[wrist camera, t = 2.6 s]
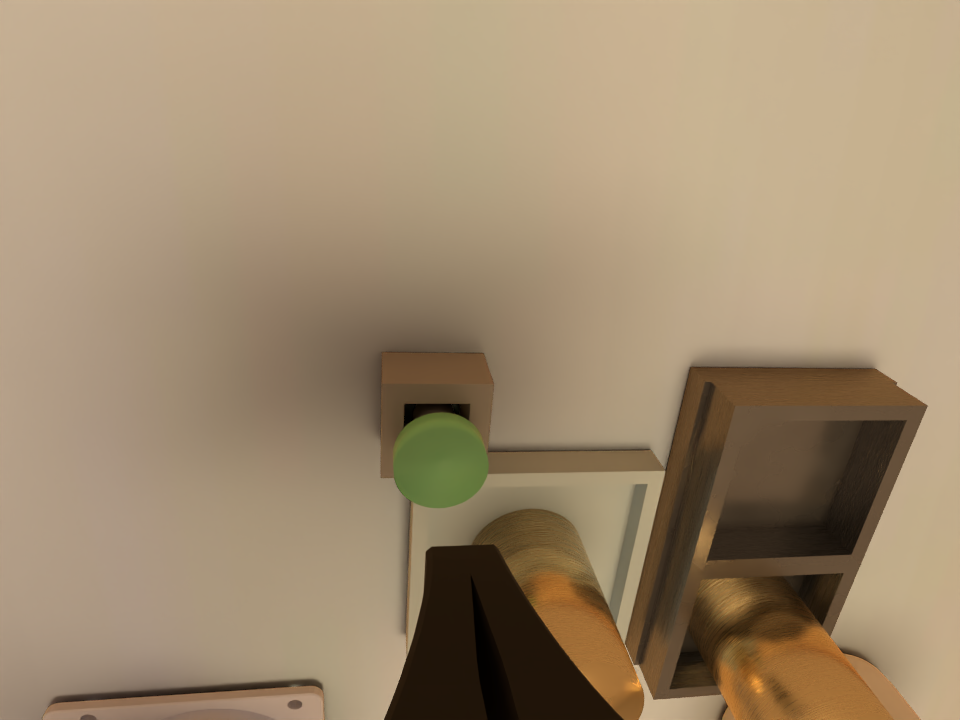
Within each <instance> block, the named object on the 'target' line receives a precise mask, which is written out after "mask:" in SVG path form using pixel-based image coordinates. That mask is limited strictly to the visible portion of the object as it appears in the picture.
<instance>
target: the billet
mask: <svg viewBox="0 0 960 720" xmlns="http://www.w3.org/2000/svg"><path fill="white" fill-rule="evenodd" d="M490 544H494V545H495V546H496V547H497V548H498V549H499V551H500V553H501V555H502V556H503V558H504V560H505V562H506V564H507V566H508V567H509V569H510V571H511V573H512V574H513V576H514V578H515V579H516V581H517V583H518V584H519V586H520V587H521V589H522V591H523V592H524V594H525V596H526V597H527V599H528V600H529V602H530V603H531V605H532V606H533V608H534V609H535V611H536V612H537V614H538V615H539V616H540V618H541V619H542V621H543V622H544V624H545V625H546V626H547V628H548V629H549V631H550V632H551V634H552V635H553V636H554V638H555V639H556V640H557V642H558V643H559V644H560V646H561V647H562V648H563V650H564V651H565V652H566V654H567V655H568V656H569V657H570V659H571V660H572V661H573V662H574V664H575V665H576V666H577V668H578V669H579V670H580V671H581V672H582V674H583V675H584V676H585V677H586V678H587V680H588V681H589V682H590V683H591V684H592V685H593V687H594V688H595V689H596V690H597V691H598V692H599V693H600V695H601V696H602V697H603V698H604V699H605V700H606V701H607V702H608V703H609V704H610V706H611V707H612V708H613V709H614V710H615V711H616V712H617V713H618V714H619V715H620V716H621V717H622V718H623V719H624V720H638V719H639V717H640V716H641V713H642V710H643V706H644V693H643V689H642V686H641V684H640V682H639V679H638V677H637V674H636V672H635V669H634V667H633V665H632V662H631V660H630V657H629V655H628V652H627V650H626V648H625V645H624V643H623V640H622V638H621V636H620V633H619V631H618V628H617V626H616V623H615V621H614V619H613V616H612V614H611V611H610V609H609V606H608V604H607V602H606V599H605V597H604V594H603V592H602V589H601V587H600V585H599V582H598V580H597V577H596V575H595V572H594V570H593V568H592V565H591V563H590V560H589V558H588V555H587V553H586V551H585V548H584V546H583V543H582V541H581V538H580V536H579V534H578V531H577V530H576V528H575V527H574V525H573V524H572V523H571V522H570V521H569V520H567V519H566V518H565V517H563V516H561V515H560V514H557V513H555V512H552V511H548V510H543V509H523V510H518V511H514V512H511V513H508V514H505V515H503V516H501V517H499V518H497V519H495V520H493V521H492V522H491V523H489V524H488V525H487V526H485V527H484V528H483V529H482V530H481V531H480V532H479V534H478V535H477V536H476V538H475V539H474V541H473V543H472V545H490Z"/></svg>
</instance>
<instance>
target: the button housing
mask: <svg viewBox="0 0 960 720" xmlns="http://www.w3.org/2000/svg"><path fill="white" fill-rule="evenodd" d="M493 390H494V382H493V380H492V377H491V374H490V371H489V368H488V365H487V362H486V359H485V356H484V353H410V352H382V385H381V478H394V471H393V448H394V444H395V441H396V439H397V437H398V435H399V433H400V432H401V431H402V429H403V428H404V427H405V426H406V425H407V424H409V423H404V404H460V411H459V416H461V417H464V418H465V419H467V420H469V421H470V422H471V423H473V424H474V425H475V427H476V428H477V429H478V430H479V432H480V434H481V436H482V438H483V442H484V446H485V449H486V453H488V442H489V432H490V422H491V411H492V401H493Z"/></svg>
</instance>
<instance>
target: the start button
mask: <svg viewBox="0 0 960 720" xmlns="http://www.w3.org/2000/svg"><path fill="white" fill-rule="evenodd" d="M488 470H489V462H488V457H487V453H486V449H485V446H484V442H483V438H482V436H481V434H480V432H479V430H478V429H477V428H476V427H475V425H474V424H473V423H471V422H470V421H469V420H467V419H465V418H464V417H461V416H459V415H456V414H454V409H453V406H452V404H416V406H415V407H414V410H413V421H412V422H410V423H409V424H407V425H406V426H405V427H404V428H403V429H402V431H401V432H400V433H399V435H398V437H397V439H396V441H395V444H394V448H393V471H394V479H395V482H396V485H397V487H398V489H399V490H400V492H401V493H402V494H403V495H404V496H405V497H406V498H407V499H409V500H410V501H412V502H414V503H416V504H418V505H421V506H424V507H428V508H447V507H452V506H455V505H458V504H461V503H463V502H465V501H467V500H468V499H470V498H471V497H473V496H474V495H475V494H476V493H477V492H478V491H479V490H480V489H481V487H482V486H483V484H484V482H485V480H486V478H487V475H488Z"/></svg>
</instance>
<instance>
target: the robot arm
mask: <svg viewBox="0 0 960 720" xmlns="http://www.w3.org/2000/svg"><path fill="white" fill-rule="evenodd" d="M42 720H325V717H324V694H323V691H322V690H321V689H320V688H318V687H316V686H298V687H283V688H269V689H254V690H239V691H224V692H210V693H195V694H180V695H165V696H150V697H136V698H121V699H106V700H91V701H77V702H62V703H56V704H52V705H51V706H49V707H48V708H47V710H46V711H45V713H44V715H43V717H42ZM384 720H624V719H623V718H622V717H621V716H620V715H619V714H618V713H617V712H616V711H615V710H614V709H613V708H612V707H611V706H610V704H609V703H608V702H607V701H606V700H605V699H604V698H603V697H602V696H601V695H600V693H599V692H598V691H597V690H596V689H595V688H594V687H593V685H592V684H591V683H590V682H589V681H588V680H587V678H586V677H585V676H584V675H583V674H582V672H581V671H580V670H579V669H578V668H577V666H576V665H575V664H574V662H573V661H572V660H571V659H570V657H569V656H568V655H567V654H566V652H565V651H564V650H563V648H562V647H561V646H560V644H559V643H558V642H557V640H556V639H555V638H554V636H553V635H552V634H551V632H550V631H549V629H548V628H547V626H546V625H545V624H544V622H543V621H542V619H541V618H540V616H539V615H538V614H537V612H536V611H535V609H534V608H533V606H532V605H531V603H530V602H529V600H528V599H527V597H526V596H525V594H524V592H523V591H522V589H521V587H520V586H519V584H518V583H517V581H516V579H515V578H514V576H513V574H512V573H511V571H510V569H509V567H508V566H507V564H506V562H505V560H504V558H503V556H502V555H501V553H500V551H499V549H498V548H497V547H496V546H495V545H494V544H490V545H461V546H432V547H431V548H429V549H428V550H427V551H426V554H425V574H424V593H423V598H422V604H421V608H420V612H419V616H418V620H417V624H416V628H415V632H414V636H413V640H412V643H411V646H410V649H409V652H408V655H407V658H406V662H405V665H404V668H403V671H402V674H401V677H400V680H399V683H398V685H397V688H396V691H395V693H394V696H393V699H392V701H391V704H390V706H389V709H388V711H387V714H386V716H385V719H384Z"/></svg>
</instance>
